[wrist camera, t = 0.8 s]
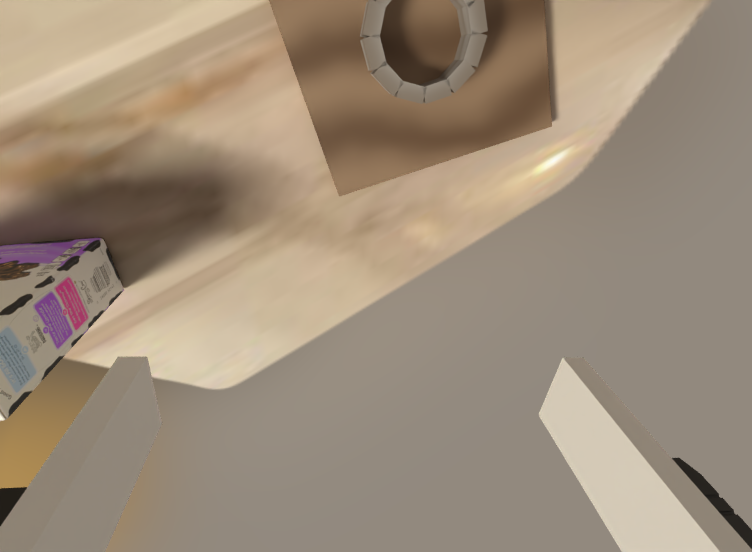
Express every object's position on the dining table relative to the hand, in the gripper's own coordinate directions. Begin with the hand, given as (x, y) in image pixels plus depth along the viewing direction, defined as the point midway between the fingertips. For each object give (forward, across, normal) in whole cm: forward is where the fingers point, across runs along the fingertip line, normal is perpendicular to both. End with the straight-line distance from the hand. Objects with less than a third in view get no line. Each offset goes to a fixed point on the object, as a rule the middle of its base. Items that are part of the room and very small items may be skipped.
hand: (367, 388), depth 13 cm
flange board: (+26, +6, +12) cm, 29 cm away
